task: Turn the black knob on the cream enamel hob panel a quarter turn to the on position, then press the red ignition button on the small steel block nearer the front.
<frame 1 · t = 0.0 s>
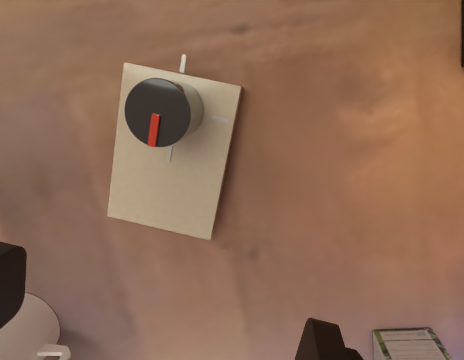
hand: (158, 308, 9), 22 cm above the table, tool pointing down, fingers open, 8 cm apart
cup: (42, 325, 38), on the table
hob knob: (166, 111, 26), point 5 cm above the table, hinge at 0.0°
hob panel: (175, 152, 31), on the table
syrup box: (400, 349, 34), on the table
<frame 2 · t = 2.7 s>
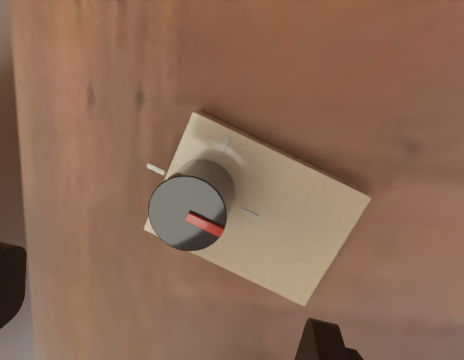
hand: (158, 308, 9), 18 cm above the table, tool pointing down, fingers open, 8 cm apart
hob knob: (195, 202, 22), point 5 cm above the table, hinge at 0.0°
hob panel: (253, 206, 27), on the table
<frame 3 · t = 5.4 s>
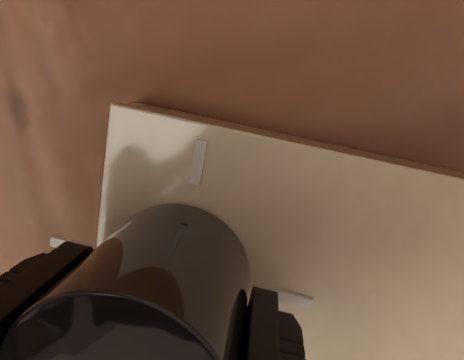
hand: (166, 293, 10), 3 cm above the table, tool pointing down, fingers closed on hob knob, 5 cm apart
hob knob: (152, 322, 9), point 5 cm above the table, hinge at 0.1°, touching gripper
hob panel: (292, 268, 13), on the table
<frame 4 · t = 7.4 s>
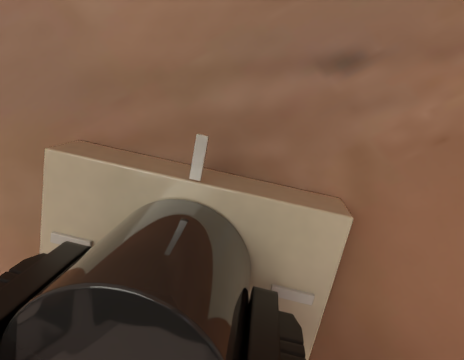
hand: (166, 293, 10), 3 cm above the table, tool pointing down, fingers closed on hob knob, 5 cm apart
hob knob: (153, 317, 9), point 5 cm above the table, hinge at 93.1°, touching gripper
hob panel: (177, 325, 14), on the table
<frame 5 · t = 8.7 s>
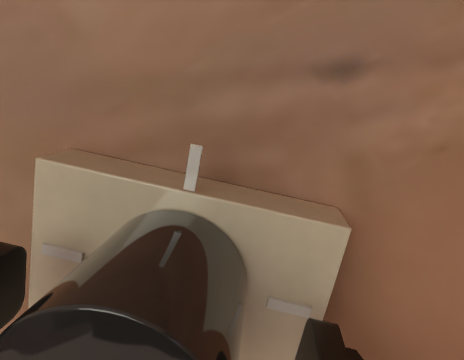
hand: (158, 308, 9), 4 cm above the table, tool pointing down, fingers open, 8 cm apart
hob knob: (145, 334, 8), point 5 cm above the table, hinge at 92.2°
hob panel: (172, 337, 14), on the table
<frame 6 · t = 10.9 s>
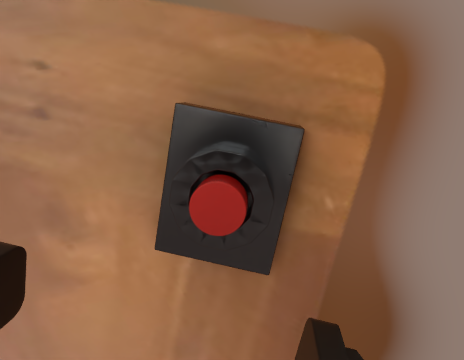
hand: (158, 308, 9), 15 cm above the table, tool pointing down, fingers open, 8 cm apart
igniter: (228, 184, 24), on the table
ignite button: (219, 204, 19), point 4 cm above the table, slide at 0.1 cm
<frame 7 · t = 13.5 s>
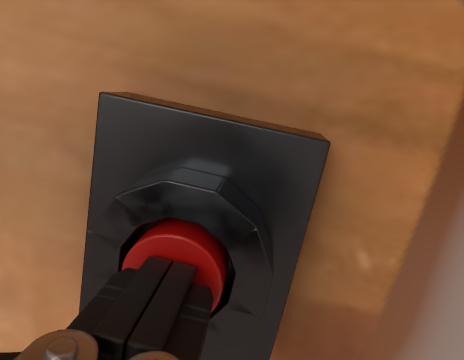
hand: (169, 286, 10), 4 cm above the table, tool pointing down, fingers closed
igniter: (200, 227, 15), on the table
ignite button: (178, 268, 11), point 4 cm above the table, slide at -0.8 cm, touching gripper
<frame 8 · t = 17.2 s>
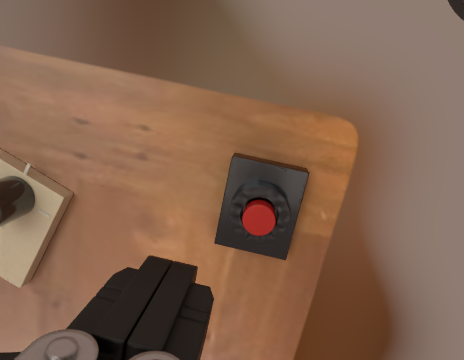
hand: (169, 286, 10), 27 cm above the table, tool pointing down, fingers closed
hob panel: (16, 217, 41), on the table
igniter: (260, 203, 38), on the table
ignite button: (259, 217, 33), point 4 cm above the table, slide at 0.1 cm
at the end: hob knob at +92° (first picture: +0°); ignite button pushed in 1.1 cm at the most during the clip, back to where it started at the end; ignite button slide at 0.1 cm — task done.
